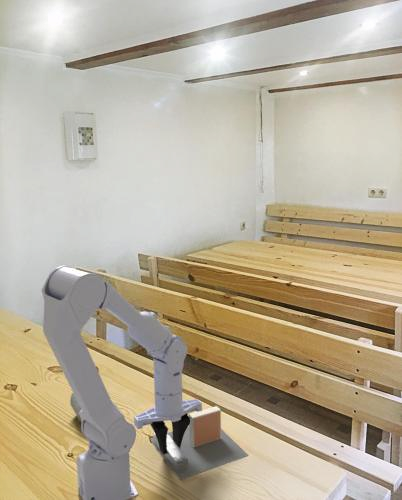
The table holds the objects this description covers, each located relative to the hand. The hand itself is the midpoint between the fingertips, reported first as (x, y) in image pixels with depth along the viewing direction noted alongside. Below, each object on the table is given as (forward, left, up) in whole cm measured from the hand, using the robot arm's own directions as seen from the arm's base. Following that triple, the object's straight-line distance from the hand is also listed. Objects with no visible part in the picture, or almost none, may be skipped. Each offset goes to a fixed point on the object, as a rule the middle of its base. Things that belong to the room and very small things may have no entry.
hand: (170, 449), depth 96 cm
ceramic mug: (-9, +24, -2) cm, 26 cm away
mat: (+7, 0, -2) cm, 7 cm away
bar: (0, 0, -1) cm, 1 cm away
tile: (+9, +1, -1) cm, 9 cm away
